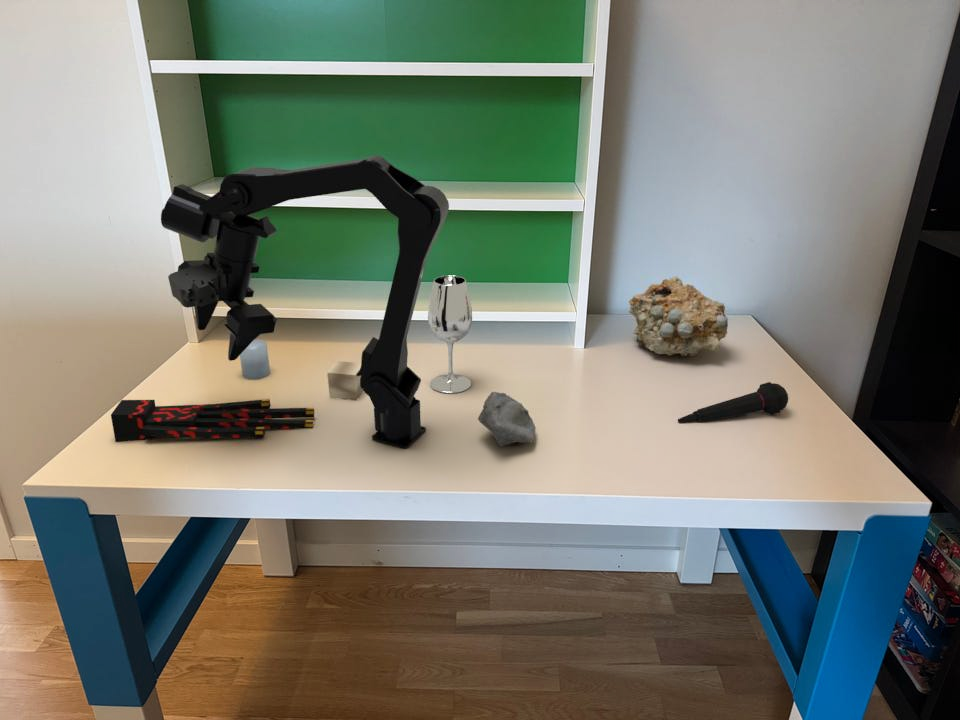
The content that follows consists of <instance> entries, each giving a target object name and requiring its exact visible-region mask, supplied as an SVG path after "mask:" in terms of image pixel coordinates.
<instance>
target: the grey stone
mask: <svg viewBox="0 0 960 720" xmlns="http://www.w3.org/2000/svg"><path fill="white" fill-rule="evenodd" d="M477 419H478V421H479V423H480V424H482V426H484V427H485V428H486V429H487V430H488V431H490V432H491V433H492V435H493V437H494V438H495V439H496V441H497V443H498V444H499V445H500V446H501V447H503V446H507V445H511V444H514V443H531V442H532V441H533V439H534V438H535V434H536V425H535V423H534V421H533V418H532V417H531V416H530V414H529V410H528V409H527V408H525V406H524V405H523V403H521V402H519V401H517V400H516V399H514V398H513V397H511V396H510V395H507V393H506V392H505V393H504V392H498V391H492V392H490V394H489V395H488V396H487V398H486V399H485V400H484V402H483V407H482V410H481V411H480V413H479V415H478V417H477Z"/></svg>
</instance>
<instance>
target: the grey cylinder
mask: <svg viewBox="0 0 960 720" xmlns="http://www.w3.org/2000/svg"><path fill="white" fill-rule="evenodd" d="M239 358H240V359H239V361H240V365H241V373H242V377H243V378H244V379H245V380H249V381H252V380H253V381H254V380H255V381H256V380H262V379H265V378H267V377H269V376H270V374H271V367H270V360H269V351H268V344H267V342H266V340H263V339H257V338H256V339H255V340H253V341H252V342H251V344H250V345H249V346H248V347H247V348H246V349H245V350H244V351H243V352H242V353H241V354H240V355H239Z"/></svg>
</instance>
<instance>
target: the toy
mask: <svg viewBox="0 0 960 720" xmlns="http://www.w3.org/2000/svg"><path fill="white" fill-rule="evenodd" d="M155 401H156V400H155V399H120V402H119V403H118V404H117V405H116V407H115V409H114V410H113V411H112V412H111V414H110V418H111V425H112V430H113V435H114V442H115V443H118V442H119V443H120V442H121V443H123V442H138V441H140V442H141V441H149V440H150V439H151V437H158V438H159V437H161V438H163V437H165V438H182V439H183V438H184V439H187V438H189V439H247V438H248V439H252V438H253V439H256V438H265V435H266V430H282V431H283V430H284V431H285V430H287V431H288V430H302V429H313V428H314V419H313V420H311V419H310V418H315V407H284V408H283V407H282V408H281V407H279V408H277V407H276V408H275V407H274V408H271V400H270V398H265V399H264V398H263V399H256V400H255V399H254V400H243V401H231V402H220V403H211V404H209V403H208V404H183V405H180V404H179V405H161V406H160V405H159V406H157V405H156V402H155ZM300 418H301V419H300ZM302 418H305V419H302ZM306 418H309V419H306Z"/></svg>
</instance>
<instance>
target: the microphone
mask: <svg viewBox="0 0 960 720" xmlns="http://www.w3.org/2000/svg"><path fill="white" fill-rule="evenodd" d="M788 403H789V394H788V392H787V390H786V389H785V387H783V386H782V385H781V384H779V383H772V382H771V381H768V382H764V383H761V384H759V387H758V388H757V390H756V391H754V392H751V393H747V394H744V395H741V396H737V397H734V398H732V399H728V400H725V401H722V402H718V403H714V404H712V405H711V404H710V405H708V406H705V407H701V408H697V410H694V411H693V412H692V413H690V414H686V415H685V416H682V417H679V418H678V419H677V422H678V424H680V423H691V422H697V423H699V422H702V423H703V422H709V421H715V420H716V421H717V420H721V419H726V418H731V417H736V416H741V415H748V414H753V413H758V412H764V413H766V414H768V415H771V416H773V415H777V414H780V413H781V411H783V410H784V409H785V408H786V407H787V405H788Z"/></svg>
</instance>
